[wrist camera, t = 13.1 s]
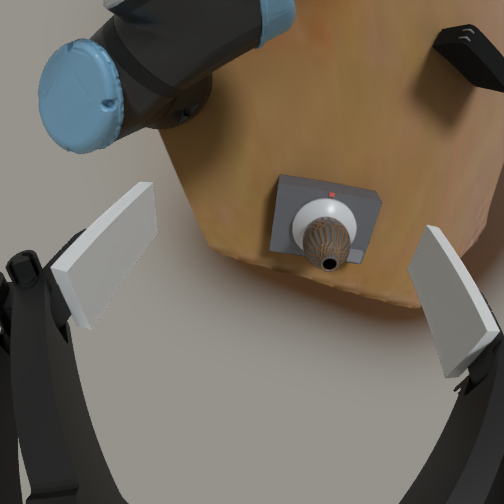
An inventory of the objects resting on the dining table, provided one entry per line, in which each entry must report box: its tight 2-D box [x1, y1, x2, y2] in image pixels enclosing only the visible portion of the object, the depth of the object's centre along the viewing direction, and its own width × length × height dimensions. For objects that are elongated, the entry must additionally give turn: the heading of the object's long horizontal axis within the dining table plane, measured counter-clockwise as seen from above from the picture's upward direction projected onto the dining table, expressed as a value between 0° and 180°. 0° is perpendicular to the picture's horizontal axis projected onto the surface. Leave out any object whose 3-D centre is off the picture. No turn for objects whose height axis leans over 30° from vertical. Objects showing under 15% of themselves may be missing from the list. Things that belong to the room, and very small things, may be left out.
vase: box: [303, 216, 351, 272], centre depth 39 cm, size 7×7×9 cm
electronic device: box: [433, 24, 504, 93], centre depth 22 cm, size 4×10×10 cm, turn 65°
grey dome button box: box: [269, 174, 382, 264], centre depth 44 cm, size 16×12×5 cm
